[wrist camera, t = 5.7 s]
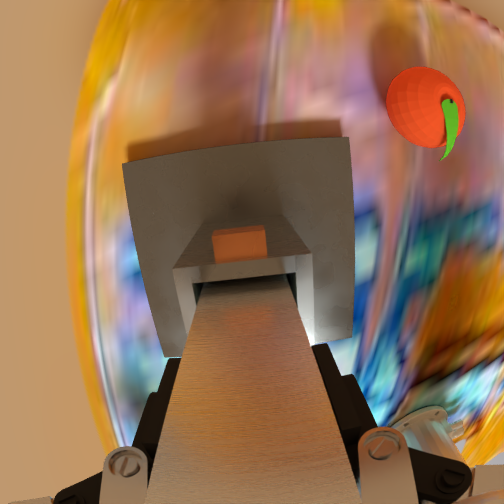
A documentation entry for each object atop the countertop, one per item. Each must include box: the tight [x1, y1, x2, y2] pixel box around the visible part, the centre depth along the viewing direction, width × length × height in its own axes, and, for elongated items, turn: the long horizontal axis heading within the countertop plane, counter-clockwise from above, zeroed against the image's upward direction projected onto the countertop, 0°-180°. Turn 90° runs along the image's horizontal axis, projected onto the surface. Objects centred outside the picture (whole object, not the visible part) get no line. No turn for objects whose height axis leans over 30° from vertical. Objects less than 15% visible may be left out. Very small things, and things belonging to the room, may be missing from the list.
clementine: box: [386, 67, 465, 161], centre depth 19 cm, size 8×7×7 cm
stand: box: [122, 137, 355, 357], centre depth 20 cm, size 18×18×12 cm
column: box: [144, 273, 362, 504], centre depth 11 cm, size 4×4×19 cm
